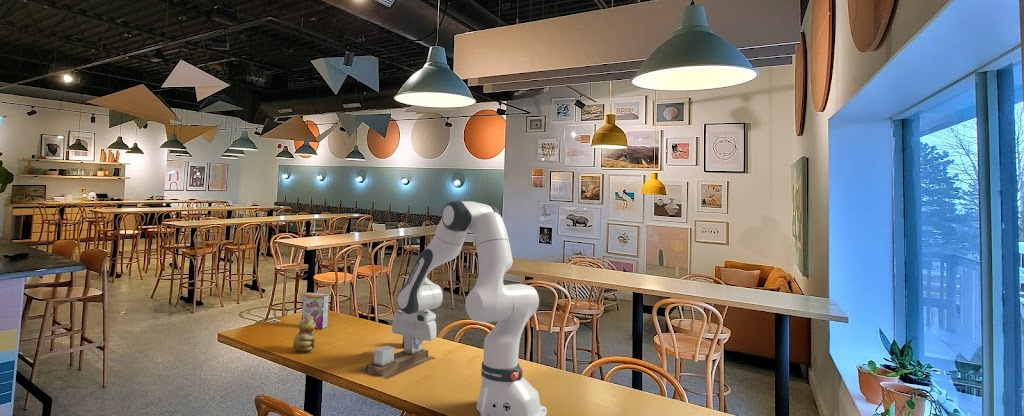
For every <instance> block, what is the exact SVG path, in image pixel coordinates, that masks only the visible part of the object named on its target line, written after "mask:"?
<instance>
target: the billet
mask: <svg viewBox="0 0 1024 416" xmlns="http://www.w3.org/2000/svg"><path fill="white" fill-rule="evenodd" d="M418 342H419V341H418V338H414V336H410V335H405V337H404V347H403V350H404V354H407V355H411V356H412V355H415V354H417V353H419V352H422V349H423V346H422V345H423V343H422V344H421V349H419V350H418V349H415V345H416V344H418Z"/></svg>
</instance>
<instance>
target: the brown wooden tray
mask: <svg viewBox="0 0 1024 416" xmlns="http://www.w3.org/2000/svg"><path fill="white" fill-rule="evenodd" d="M435 358H436V357H435V356H434V357H433V356H429V350H428V349H426V348H425V349H424V348H422V352H419V353H417V354H415V355H412V356H411V355H407V354H404V349H403V350H401V351H398V352H396V353H394V363H393V364H390V365H388V366H385V367H383V368H381V367H377V366H374V361H373V362H369V363H368V364H365V367H364V368H361V369H359V370H358V371H359V372H361V373H364V374H369V375H373V376H376V377H379V378H383V379H386V380H388V379H391V378H393V377H395V376H397V375H399V374H402V373H404V372H406V371H408V370H411V369H413V368H415V367H418V366H419V365H421V364H424V363H426V362H429V361H431V360H436V359H435Z"/></svg>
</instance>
